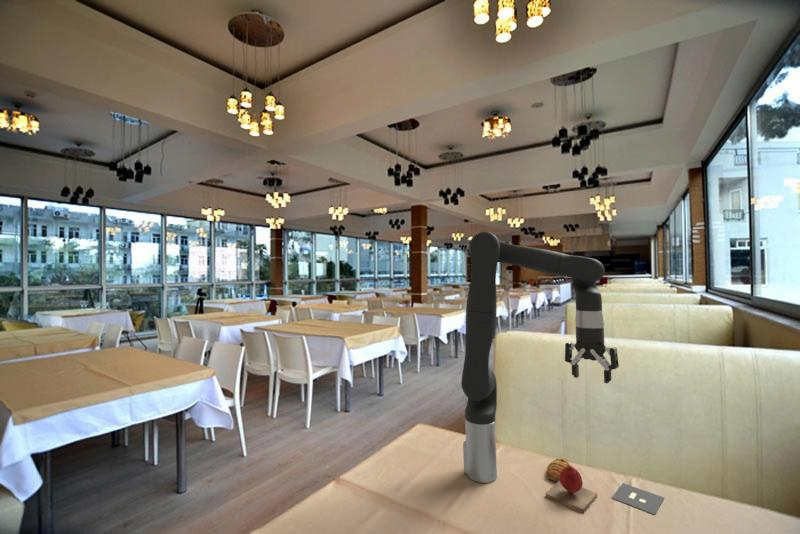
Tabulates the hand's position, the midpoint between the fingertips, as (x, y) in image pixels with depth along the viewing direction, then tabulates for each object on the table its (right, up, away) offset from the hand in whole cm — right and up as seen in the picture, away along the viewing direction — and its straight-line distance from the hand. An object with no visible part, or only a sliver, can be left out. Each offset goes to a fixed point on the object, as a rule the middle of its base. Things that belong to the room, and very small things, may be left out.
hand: (591, 379), depth 109 cm
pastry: (-8, -31, +4) cm, 32 cm away
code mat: (+8, -30, -9) cm, 32 cm away
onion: (-10, -29, -8) cm, 32 cm away
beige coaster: (-10, -30, -8) cm, 32 cm away
